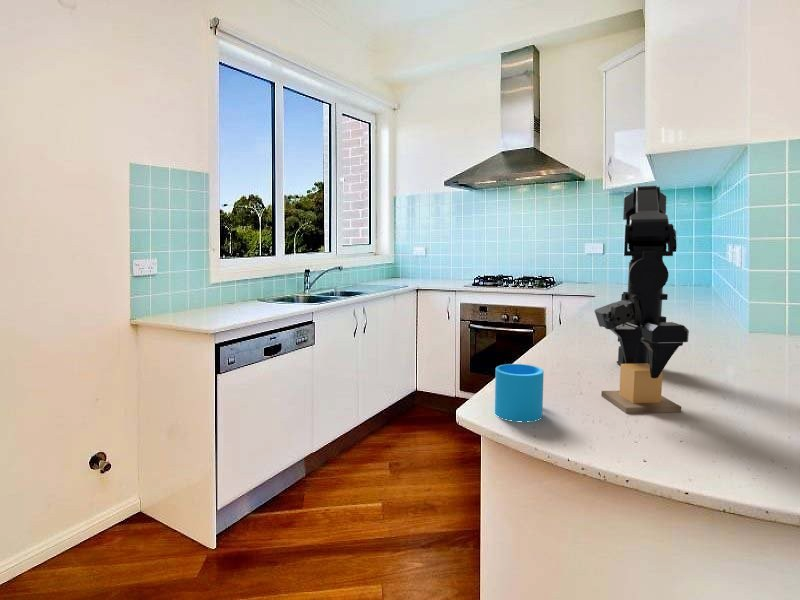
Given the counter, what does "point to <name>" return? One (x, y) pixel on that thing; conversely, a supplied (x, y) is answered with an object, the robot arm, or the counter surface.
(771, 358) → the counter surface
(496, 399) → the mug
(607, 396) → the walnut base
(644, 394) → the tan wooden cube
